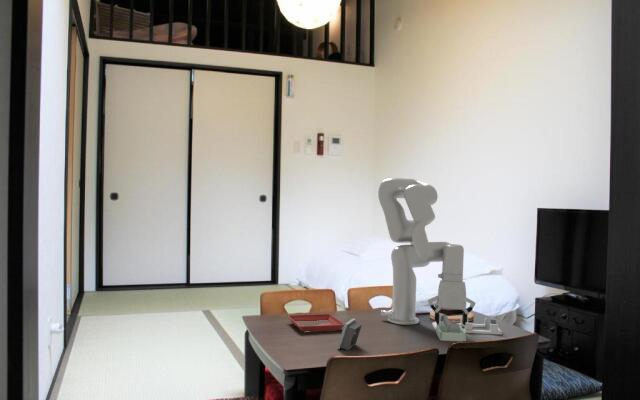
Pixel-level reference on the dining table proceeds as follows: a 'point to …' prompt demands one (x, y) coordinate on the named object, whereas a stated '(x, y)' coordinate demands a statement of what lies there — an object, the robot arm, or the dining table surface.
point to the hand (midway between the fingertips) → (450, 323)
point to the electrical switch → (349, 334)
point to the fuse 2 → (490, 321)
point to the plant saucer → (334, 321)
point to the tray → (450, 334)
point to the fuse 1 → (440, 318)
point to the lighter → (450, 324)
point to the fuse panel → (469, 326)
